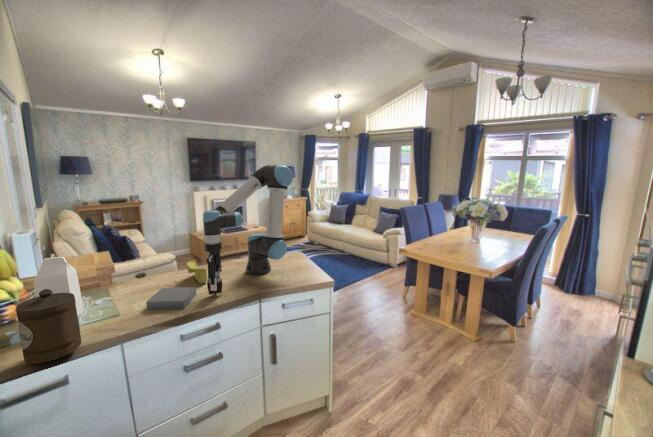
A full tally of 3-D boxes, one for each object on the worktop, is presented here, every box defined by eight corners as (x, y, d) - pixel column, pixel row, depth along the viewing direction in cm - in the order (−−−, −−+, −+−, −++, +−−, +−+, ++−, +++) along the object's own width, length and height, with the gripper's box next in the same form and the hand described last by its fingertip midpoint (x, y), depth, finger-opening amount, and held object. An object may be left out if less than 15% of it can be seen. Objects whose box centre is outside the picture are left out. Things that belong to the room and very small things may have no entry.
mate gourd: (207, 291, 153) (205, 263, 150) (224, 289, 156) (222, 261, 153) (208, 297, 146) (205, 267, 144) (225, 294, 149) (223, 265, 146)
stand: (196, 294, 152) (195, 287, 151) (184, 309, 136) (183, 300, 136) (163, 295, 151) (162, 287, 150) (147, 310, 135) (146, 301, 134)
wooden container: (28, 347, 106) (19, 287, 102) (82, 334, 115) (75, 279, 111) (19, 370, 94) (8, 303, 91) (80, 353, 103) (72, 292, 99)
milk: (37, 326, 120) (27, 263, 116) (49, 314, 130) (41, 255, 126) (74, 321, 125) (67, 260, 121) (83, 309, 135) (77, 252, 131)
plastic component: (206, 283, 166) (205, 266, 165) (192, 286, 162) (191, 269, 160) (197, 274, 182) (195, 258, 180) (183, 276, 177) (182, 260, 176)
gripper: (211, 237, 156) (213, 280, 160) (198, 247, 136) (201, 295, 140) (226, 237, 157) (228, 279, 160) (215, 247, 137) (218, 295, 141)
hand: (215, 287), depth 150 cm, fingers closed on mate gourd, 7 cm apart
